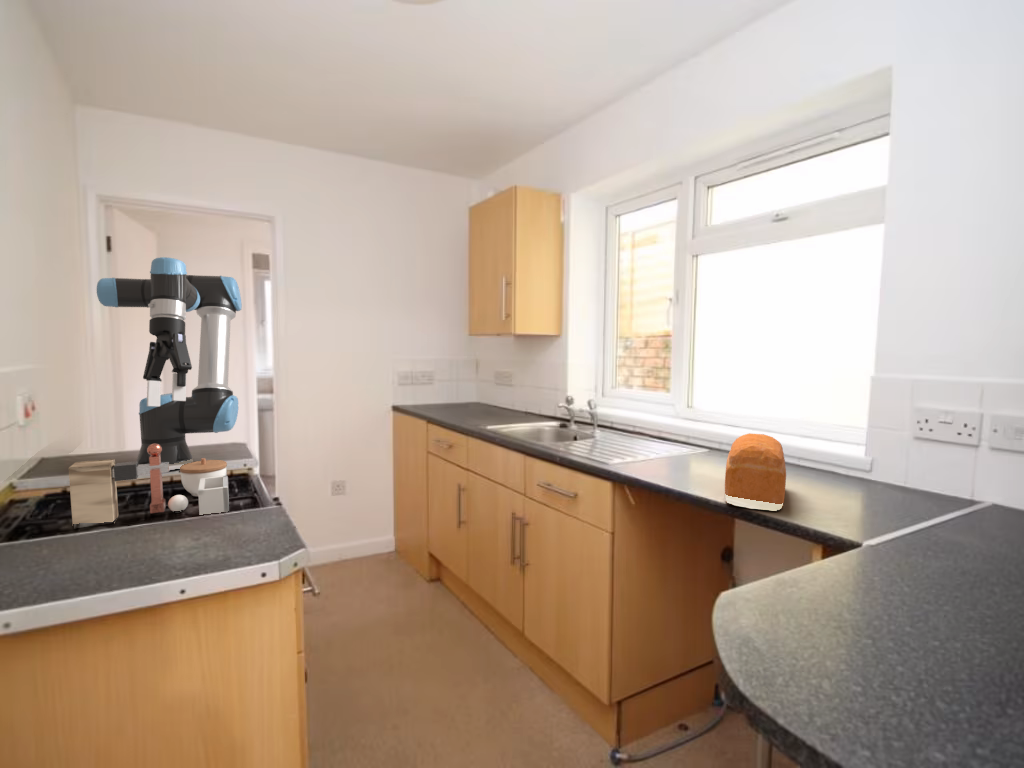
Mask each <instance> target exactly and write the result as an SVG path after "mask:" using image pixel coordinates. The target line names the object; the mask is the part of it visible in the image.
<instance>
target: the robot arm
mask: <svg viewBox="0 0 1024 768" xmlns="http://www.w3.org/2000/svg"><path fill="white" fill-rule="evenodd" d="M149 274H150V278H149V279H148V278H142V279H141V278H128V277H127V278H123V277H120V278H119V277H103V278H100V279H99V280H98V281H97V284H96V295H97V296H96V297H97V299H98V301H99V303H100V304H101V305H102V306H104V307H108V308H109V307H110V308H111V307H112V308H149V317H150V319H149V321H148V322H149V323H148V324H149V326H148V327H149V328H148V329H149V330H148V332H149V334H150V335H152V336H155V337H156V340H155V342H154V341H150V342H149V346H148V350H149V351H148V355H147V358H146V363H145V368H144V372H143V377H142V378H143V380H145V381H147V387H146V388H147V391H146V394H147V395H146V397H144V398H142V399H141V400H140V402H139V405H138V406H139V412H138V415H139V428H140V438H141V439H140V443H141V446H140V449H139V452H138V455H137V458H136V461H138V465H141V464H150V460H149V457H150V456H151V455H150V454H149V453H148V452H147V448H148V447H149V446H150V445H151V444H159V445H160V446H161V447H162V451H161V453H160V456H161V463H162V462H169V464H174V463H179V462H183V461H187V460H190V459H192V458H193V459H194V457H193V455H192V453H191V450H190V448H189V445H188V443H187V441H186V434H204V433H207V434H208V433H215V434H218V433H223V432H229V431H231V430H232V429H233V428H234V427H235V425H236V422H237V419H238V414H239V398H238V397H237V396H236V395H234V392H233V390H232V388H230V387H229V366H230V363H229V362H230V341H231V340H230V338H231V321H232V320H233V319H235V318H236V314H237V312H240V311H242V297H241V292H240V289H239V285H238V282H237V280H236V279H235V278H234V277H232V276H224V275H223V276H222V275H195V274H194V275H191V274H188V272H187V265H186V263H185V262H184V261H182V260H180V259H178V258H172V257H164V256H163V257H156V258H153V260H151V265H150V271H149ZM192 311H196V314H197V316H199V317H200V318H201V319H200V320H201V322H200V336H199V337H200V338H199V342H200V343H199V356H198V375H197V386H196V387H194V388H193V389H192V390H191V396H187V374H188V373H189V370H190V371H191V370H192V368H193V367H192V366H193V365H192V362H191V358H190V353H189V350H188V346H187V339H186V322H185V320H186V318H187V316H186V315H187V314H186V313H190V312H192ZM166 361H169V362H170V364H171V365H172V370H171V373H172V383H171V385H172V386H171V389H172V390H171V391H172V392H170V393H166V394H165V393H164V394H161V390H162V389H161V388H162V387H161V385H162V384H161V383H162V382H163V380H162V378H161V375H162V373H163V370H164V368H165V364H166Z"/></svg>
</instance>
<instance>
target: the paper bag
mask: <svg viewBox="0 0 1024 768" xmlns="http://www.w3.org/2000/svg"><path fill="white" fill-rule="evenodd" d="M115 464H116V461H115V458H108V459H97V460H85V461H75V462H74V463H72V465H70V466H69V467H68V479H69V481H68V482H69V490H70V491H69V493H70V506H71V507H70V509H71V520H72V525H73V524H79V523H104V522H113V521H114V520H115V519H116V518H117V519H118V518H119V507H118V506H119V505H118V504H119V503H118V491H117V481H115V479H114V478H112V472H111V467H114V465H115ZM117 519H116V520H117Z"/></svg>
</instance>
